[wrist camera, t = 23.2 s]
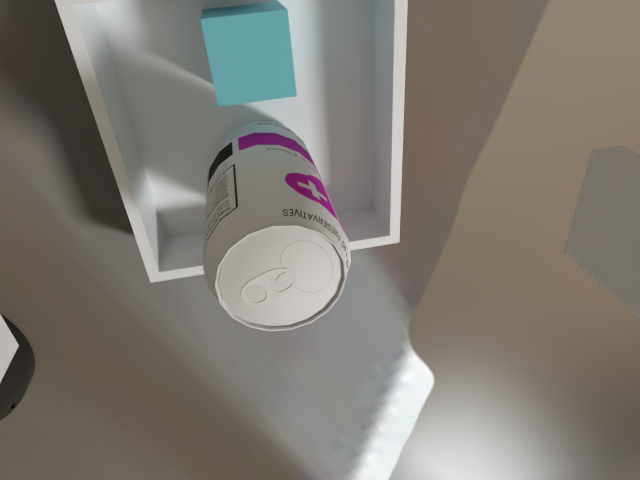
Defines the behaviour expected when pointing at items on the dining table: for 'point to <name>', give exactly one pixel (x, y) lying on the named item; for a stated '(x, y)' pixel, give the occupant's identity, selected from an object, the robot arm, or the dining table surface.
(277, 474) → the dining table surface
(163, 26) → the tote
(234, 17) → the cube
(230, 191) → the supplement can
